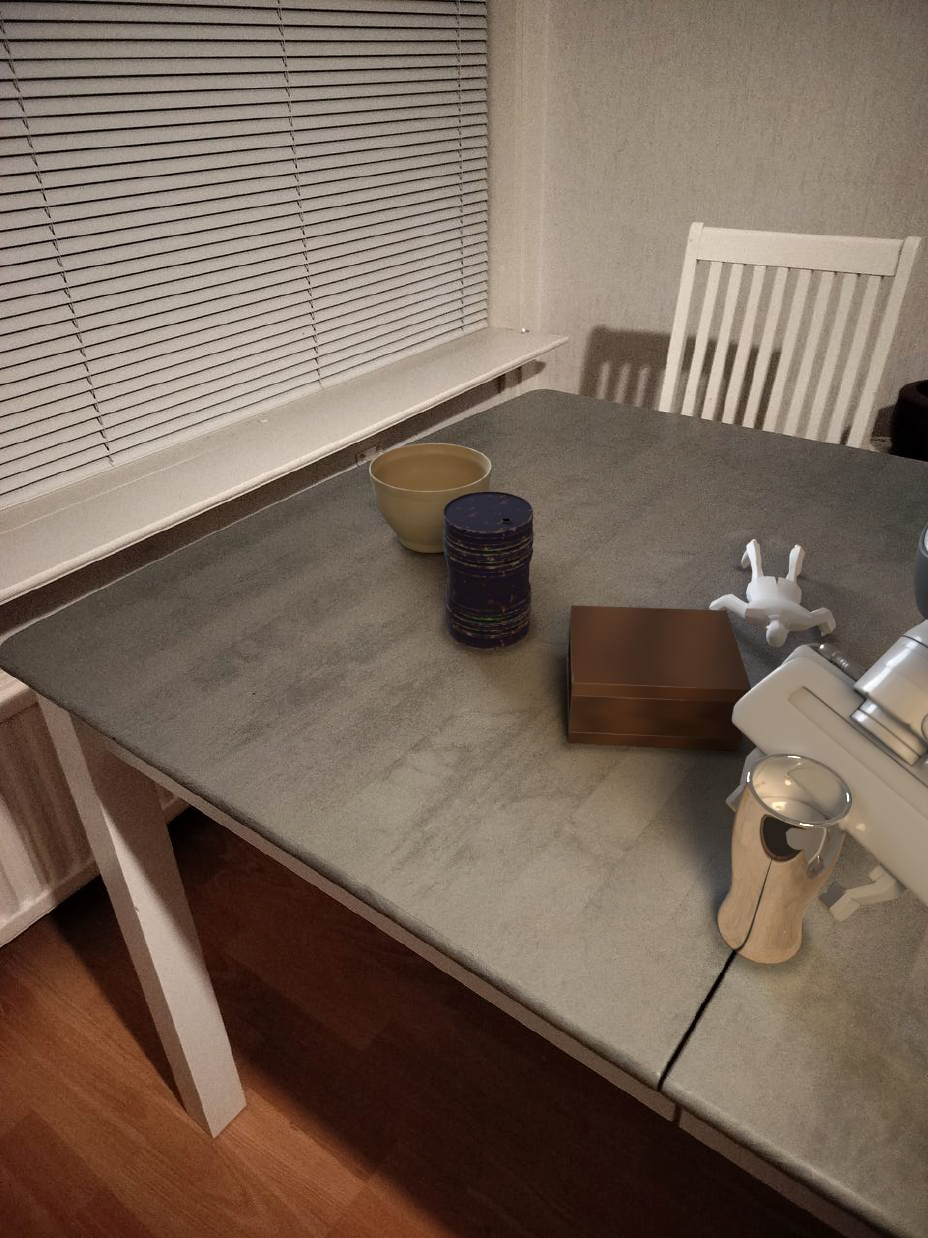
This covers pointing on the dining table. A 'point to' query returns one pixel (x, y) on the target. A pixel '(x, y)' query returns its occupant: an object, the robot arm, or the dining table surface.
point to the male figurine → (775, 600)
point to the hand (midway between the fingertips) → (779, 858)
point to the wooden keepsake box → (653, 678)
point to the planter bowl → (425, 488)
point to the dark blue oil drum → (488, 568)
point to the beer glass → (778, 858)
